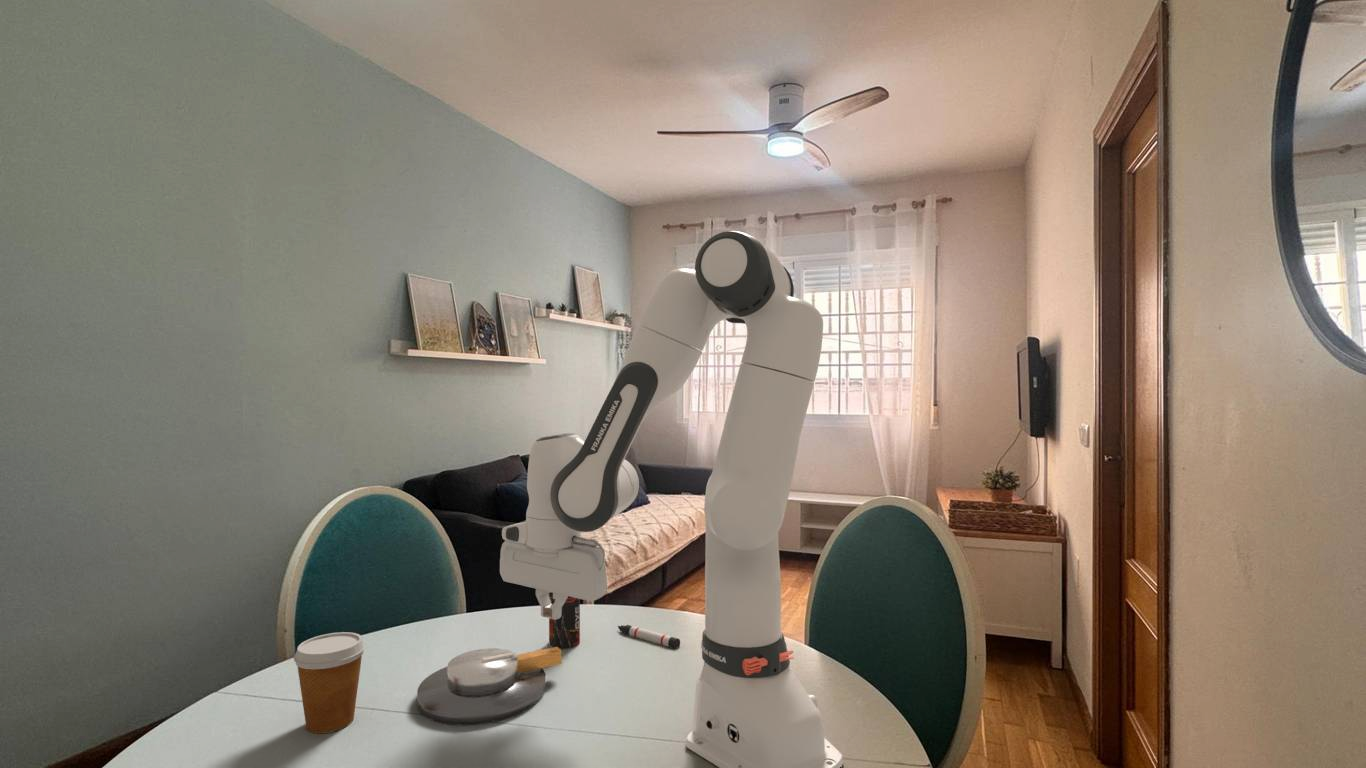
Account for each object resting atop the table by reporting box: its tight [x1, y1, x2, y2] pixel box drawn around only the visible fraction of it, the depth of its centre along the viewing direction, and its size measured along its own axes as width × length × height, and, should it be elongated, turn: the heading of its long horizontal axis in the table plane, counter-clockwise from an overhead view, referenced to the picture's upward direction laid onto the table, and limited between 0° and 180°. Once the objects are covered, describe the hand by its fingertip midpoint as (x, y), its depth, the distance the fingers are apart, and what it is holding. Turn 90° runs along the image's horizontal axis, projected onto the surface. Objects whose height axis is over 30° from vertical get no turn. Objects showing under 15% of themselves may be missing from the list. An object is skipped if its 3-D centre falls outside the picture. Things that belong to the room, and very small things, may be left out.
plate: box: [416, 666, 546, 726], centre depth 109 cm, size 20×20×2 cm
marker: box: [617, 624, 681, 649], centre depth 132 cm, size 15×2×2 cm, turn 54°
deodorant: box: [548, 592, 581, 650], centre depth 130 cm, size 6×6×15 cm
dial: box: [446, 647, 563, 696], centre depth 111 cm, size 18×11×3 cm, turn 120°
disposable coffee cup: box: [293, 631, 367, 734], centre depth 99 cm, size 10×10×12 cm
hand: (551, 617), depth 108 cm, fingers closed
